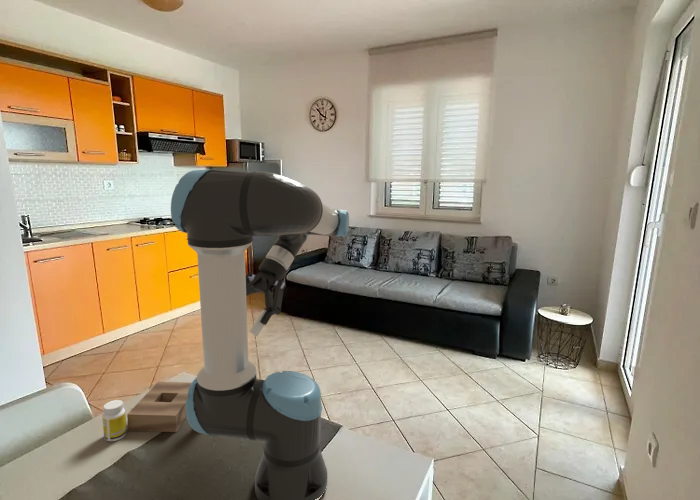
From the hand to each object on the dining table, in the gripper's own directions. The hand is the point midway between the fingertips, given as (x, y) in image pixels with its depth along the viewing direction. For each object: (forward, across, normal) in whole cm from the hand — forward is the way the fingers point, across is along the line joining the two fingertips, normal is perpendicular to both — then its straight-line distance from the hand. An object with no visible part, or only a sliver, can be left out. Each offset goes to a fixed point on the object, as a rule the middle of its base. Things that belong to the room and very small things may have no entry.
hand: (236, 327), depth 104 cm
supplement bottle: (+35, +13, +2) cm, 38 cm away
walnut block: (+26, +12, -7) cm, 30 cm away
